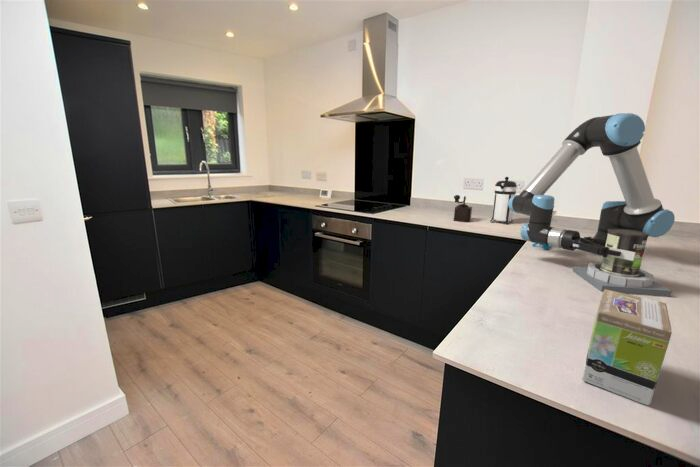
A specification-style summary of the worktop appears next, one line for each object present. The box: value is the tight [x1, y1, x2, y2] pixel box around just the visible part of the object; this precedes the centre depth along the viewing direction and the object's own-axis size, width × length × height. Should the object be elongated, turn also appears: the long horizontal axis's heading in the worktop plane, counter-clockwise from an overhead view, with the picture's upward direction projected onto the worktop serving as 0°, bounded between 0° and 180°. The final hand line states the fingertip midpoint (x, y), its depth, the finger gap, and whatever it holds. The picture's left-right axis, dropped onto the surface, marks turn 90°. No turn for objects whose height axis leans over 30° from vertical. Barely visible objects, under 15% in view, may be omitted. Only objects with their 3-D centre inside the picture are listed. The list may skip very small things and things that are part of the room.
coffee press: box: [489, 176, 518, 225], centre depth 207 cm, size 17×16×30 cm
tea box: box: [581, 289, 673, 406], centre depth 61 cm, size 15×10×15 cm, turn 138°
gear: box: [531, 243, 551, 250], centre depth 152 cm, size 11×6×10 cm
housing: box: [572, 261, 672, 298], centre depth 108 cm, size 19×19×4 cm
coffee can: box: [600, 229, 650, 277], centre depth 106 cm, size 10×10×14 cm
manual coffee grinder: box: [453, 194, 473, 223], centre depth 211 cm, size 16×11×18 cm
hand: (639, 253), depth 103 cm, fingers closed on coffee can, 10 cm apart
